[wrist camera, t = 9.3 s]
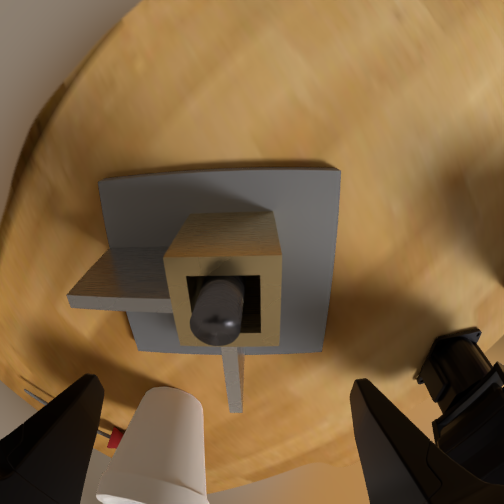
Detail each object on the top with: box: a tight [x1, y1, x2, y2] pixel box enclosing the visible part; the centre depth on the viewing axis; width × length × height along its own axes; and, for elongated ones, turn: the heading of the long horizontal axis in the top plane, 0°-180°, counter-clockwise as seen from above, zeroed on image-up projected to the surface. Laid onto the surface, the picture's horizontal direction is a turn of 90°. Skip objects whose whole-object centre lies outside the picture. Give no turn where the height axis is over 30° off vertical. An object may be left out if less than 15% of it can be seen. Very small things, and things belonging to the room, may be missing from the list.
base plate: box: [98, 167, 341, 355], centre depth 20 cm, size 15×14×1 cm
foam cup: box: [96, 386, 209, 504], centre depth 22 cm, size 10×9×13 cm
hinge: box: [67, 211, 282, 413], centre depth 17 cm, size 11×11×6 cm
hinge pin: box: [190, 275, 247, 346], centre depth 15 cm, size 2×2×8 cm
